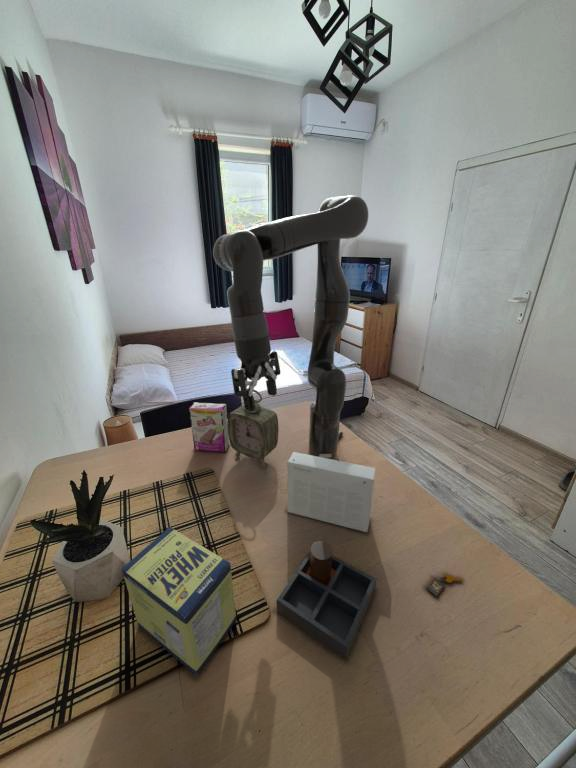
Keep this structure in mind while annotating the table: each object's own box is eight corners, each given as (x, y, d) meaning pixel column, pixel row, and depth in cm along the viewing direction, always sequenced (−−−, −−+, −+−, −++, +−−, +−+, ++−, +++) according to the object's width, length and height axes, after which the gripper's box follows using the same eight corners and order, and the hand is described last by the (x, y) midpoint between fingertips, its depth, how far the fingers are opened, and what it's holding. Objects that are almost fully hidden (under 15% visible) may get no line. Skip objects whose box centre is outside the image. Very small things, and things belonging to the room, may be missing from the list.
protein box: (179, 579, 68) (169, 525, 62) (238, 619, 61) (232, 562, 55) (136, 626, 60) (118, 568, 54) (197, 678, 53) (186, 618, 47)
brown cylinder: (315, 563, 71) (317, 537, 68) (334, 574, 69) (336, 547, 66) (305, 579, 68) (306, 552, 64) (324, 591, 65) (326, 563, 62)
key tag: (434, 598, 65) (435, 596, 65) (423, 585, 67) (423, 583, 67) (462, 580, 68) (463, 578, 68) (450, 568, 71) (451, 566, 70)
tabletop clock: (230, 457, 107) (224, 388, 97) (247, 444, 114) (243, 378, 104) (265, 472, 100) (263, 400, 90) (281, 457, 107) (281, 388, 97)
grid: (313, 556, 74) (313, 545, 72) (374, 590, 66) (376, 578, 65) (276, 611, 62) (276, 599, 61) (346, 660, 55) (347, 647, 54)
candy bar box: (193, 451, 110) (188, 408, 104) (199, 442, 115) (193, 401, 108) (226, 453, 109) (222, 410, 103) (229, 444, 114) (226, 403, 107)
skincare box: (369, 517, 84) (376, 467, 78) (367, 533, 79) (374, 481, 73) (292, 498, 90) (293, 450, 84) (286, 512, 86) (286, 462, 79)
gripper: (243, 344, 62) (256, 418, 68) (283, 326, 73) (291, 391, 79) (215, 342, 66) (230, 413, 72) (257, 325, 77) (266, 388, 83)
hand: (262, 402), depth 76 cm, fingers open, 8 cm apart
